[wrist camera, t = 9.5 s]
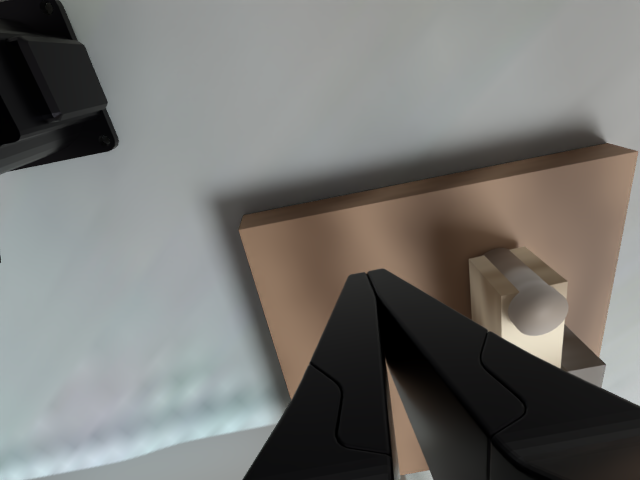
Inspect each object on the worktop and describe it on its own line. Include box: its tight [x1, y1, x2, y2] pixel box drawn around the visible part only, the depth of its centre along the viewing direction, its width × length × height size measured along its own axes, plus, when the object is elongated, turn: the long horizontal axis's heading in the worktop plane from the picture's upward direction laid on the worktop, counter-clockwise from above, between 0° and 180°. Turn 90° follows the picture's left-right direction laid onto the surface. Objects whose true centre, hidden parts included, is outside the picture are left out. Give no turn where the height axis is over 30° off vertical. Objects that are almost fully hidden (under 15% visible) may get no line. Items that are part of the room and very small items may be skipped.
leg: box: [469, 246, 568, 368], centre depth 21 cm, size 13×3×4 cm, turn 13°
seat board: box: [239, 143, 638, 475], centre depth 23 cm, size 20×22×6 cm
